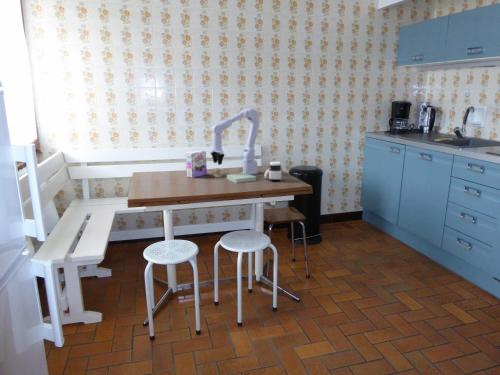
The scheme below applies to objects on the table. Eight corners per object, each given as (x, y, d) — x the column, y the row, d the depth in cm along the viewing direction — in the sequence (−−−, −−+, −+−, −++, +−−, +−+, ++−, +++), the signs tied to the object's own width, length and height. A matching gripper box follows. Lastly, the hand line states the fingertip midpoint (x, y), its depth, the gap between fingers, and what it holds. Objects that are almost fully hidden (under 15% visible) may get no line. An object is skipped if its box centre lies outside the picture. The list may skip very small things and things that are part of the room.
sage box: (246, 177, 257) (245, 172, 256) (255, 181, 245) (255, 176, 244) (226, 179, 251) (226, 175, 250) (236, 183, 239) (235, 179, 238)
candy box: (192, 178, 253) (191, 153, 249) (186, 177, 257) (185, 152, 253) (207, 174, 264) (206, 150, 260) (200, 173, 267) (200, 150, 263)
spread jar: (280, 182, 239) (280, 163, 236) (262, 181, 241) (262, 163, 239) (282, 178, 251) (282, 160, 248) (265, 177, 253) (265, 160, 250)
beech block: (219, 175, 262) (219, 168, 261) (222, 176, 258) (222, 169, 256) (213, 176, 260) (212, 168, 258) (215, 177, 255) (215, 170, 254)
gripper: (207, 142, 258) (207, 162, 261) (215, 144, 245) (216, 165, 248) (217, 141, 261) (217, 161, 264) (226, 144, 249) (226, 165, 252)
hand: (217, 163), depth 256 cm, fingers open, 7 cm apart
